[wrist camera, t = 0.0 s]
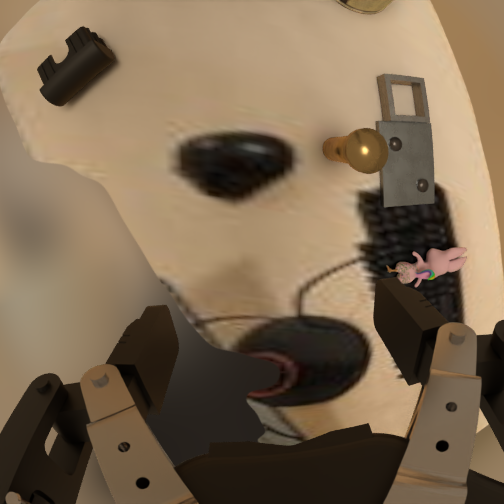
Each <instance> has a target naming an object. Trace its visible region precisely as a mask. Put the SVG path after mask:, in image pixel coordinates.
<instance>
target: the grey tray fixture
mask: <svg viewBox="0 0 504 504" xmlns="http://www.w3.org/2000/svg"><path fill="white" fill-rule="evenodd" d="M377 81H378V87H379V94H380V101H381V108H382V116H383V121H376V130H377V132H379V133H380V134H381V135H382V136H383V137H384V139H385V140H386V142H387V145H388V152H389V154H388V159H387V162H386V164H385V165H384V167H383V168H382V169H381V170H380V186H381V206H383V207H392V206H404V205H417V204H430V203H434V158H433V142H432V130H431V123H430V118H429V109H428V101H427V95H426V88H425V82H424V78H418V77H411V76H402V75H393V74H382V75H380V76H378V77H377ZM391 83H392V84H403V85H412V90H413V96H414V103H415V111H416V116H406V115H395V108H394V101H393V94H392V87H391Z"/></svg>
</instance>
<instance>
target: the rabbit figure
mask: <svg viewBox="0 0 504 504" xmlns="http://www.w3.org/2000/svg"><path fill="white" fill-rule="evenodd" d="M466 251H467V249H466V248H463V247H458V248H450V249H448V250H445V251H441V250H437V249H434V248H431V249H430V250H429V251H428V252H427V255H426V260H425V261H424V262H423V260H422V258H421V257H420V255H419V254H417V253H416V252H413V253H412V254H413V255H414V256H416V257H417V259H418V261H417V262H416V263H414V264H410V263H408V262H398V263H397V264H396V267H395V269H394V270H391V269H390V268H389V267H388V266H387V268H388V271H389V272H391V271H396V272H399V273H398V274H397V277H396V278H398V279H399V280H400V281H401V282H402V283H410V282H411V281H413V280H414V279H415V278H416V277H417V278H418V281H417V282H416V284H415V287H417V286H418V285H419V283H420V282H421V280H422V279H428V280H432V279H434V278H435V277H437V276H439V275H442V274H444V273H446V272H447V271H449V272H454V271H457V270H459V269H460V268H461V267H462V266H463V265H464V263H465V262H466V259H467V257H462V258H458V259H455V258H457V257H459V256H461V255H462V254H463V253H464V252H466ZM451 259H454V260H451ZM449 260H451V261H449Z"/></svg>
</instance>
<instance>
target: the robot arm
mask: <svg viewBox="0 0 504 504" xmlns="http://www.w3.org/2000/svg"><path fill="white" fill-rule="evenodd" d="M373 319H374V325H375V328H376V331H377V332H378V334H379V336H380V337H381V339H382V341H383V342H384V344H385V346H386V347H387V349H388V351H389V352H390V354H391V356H392V357H393V359H394V361H395V363H396V364H397V366H398V368H399V370H400V371H401V373H402V375H403V377H404V378H405V380H406V382H407V384H408V385H409V386H410V385H413V384H416V383H419V382H420V383H421V385H422V388H421V391H420V394H419V397H418V400H417V404H416V407H415V410H414V413H413V416H412V419H411V421H410V424H409V427H408V430H407V432H406V435H405V437H404V438H403V437H400V436H396V435H391V434H384V433H372V431H371V428H370V425H369V423H367V424H363V425H359V426H354V427H350V428H345V429H340V430H335V431H331V432H328V433H326V434H323V435H321V436H318V437H315V438H313V439H310V440H307V441H305V442H302V443H299V444H296V445H292V446H284V445H274V444H265V443H256V442H250V441H246V442H221V443H220V442H219V443H210V447H209V453H208V454H203V455H199V456H196V457H194V458H191V459H188V460H186V461H184V462H183V463H180V464H179V465H177V466H176V467H175V466H174V465H173V464H172V462H171V461H170V459H169V458H168V456H167V455H166V453H165V452H164V450H163V448H162V447H161V445H160V444H159V442H158V440H157V439H156V437H155V436H154V434H153V432H152V431H151V429H150V427H149V425H148V424H147V422H146V418H147V415H148V414H154V415H159V414H160V411H161V408H162V404H163V401H164V398H165V394H166V391H167V388H168V384H169V381H170V378H171V375H172V371H173V368H174V365H175V362H176V358H177V355H178V351H179V343H178V338H177V334H176V331H175V328H174V325H173V321H172V318H171V315H170V311H169V308H168V307H167V305H157V306H148V307H146V309H145V311H144V312H143V314H142V316H141V318H140V319H136V320H135V321H134V322H132V323H131V324H130V325H129V326H128V327H127V328H126V330H125V331H124V333H123V336H122V337H121V338H120V340H119V343H117V345H116V346H115V348H114V350H113V352H112V353H111V355H110V357H109V358H108V360H107V362H106V364H102V365H97V366H95V367H93V368H91V369H89V370H88V371H87V372H85V374H84V375H83V376H82V378H81V380H80V382H79V383H73V384H66V385H63V383H62V381H61V380H60V378H59V377H58V376H57V375H56V374H52V373H48V374H44V375H41V376H39V377H37V378H36V379H35V380H34V381H33V382H32V383H31V384H30V386H29V387H28V389H27V390H26V392H25V393H24V395H23V397H22V398H21V400H20V401H19V403H18V405H17V406H16V408H15V409H14V411H13V413H12V414H11V416H10V418H9V420H8V421H7V423H6V425H5V426H4V428H3V430H2V432H1V433H0V504H75V503H76V500H77V497H78V493H79V490H80V487H81V483H82V480H83V476H84V474H85V470H86V467H87V464H88V460H89V458H90V455H91V452H92V449H94V451H95V454H96V457H97V460H98V462H99V465H100V468H101V470H102V472H103V475H104V477H105V480H106V482H107V484H108V487H109V489H110V492H111V494H112V496H113V498H114V500H115V502H116V504H504V483H502V482H499V481H496V480H494V479H492V478H489V477H487V476H484V475H482V474H479V473H477V472H475V471H473V470H471V469H469V466H470V462H471V457H472V453H473V448H474V442H475V436H476V430H477V423H478V415H479V407H480V409H481V411H482V412H483V414H484V416H485V418H486V419H487V421H488V423H489V425H490V427H491V428H492V430H493V432H494V434H495V436H496V438H497V440H498V442H499V444H500V446H501V447H502V449H503V451H504V320H501V321H499V322H497V324H496V325H495V328H494V331H493V334H489V335H476V333H475V332H474V330H473V329H471V328H470V327H469V326H467V325H464V324H461V323H449V322H448V321H447V320H446V319H445V318H444V317H443V316H442V315H441V314H440V313H439V312H438V311H437V310H436V309H435V308H434V306H432V304H431V303H430V302H429V301H426V298H425V297H424V296H423V295H422V294H421V293H420V292H418V291H416V290H414V289H412V288H410V287H406V286H405V285H404V284H403V283H402V282H401V281H400V280H399V279H398V278H396V277H393V278H387V279H380V280H378V281H377V282H376V288H375V302H374V314H373ZM52 427H53V428H54V429H55V431H56V432H57V433H58V435H57V437H56V439H55V442H54V444H53V446H52V448H51V451H50V453H49V456H48V455H47V454H46V451H45V441H46V439H47V436H48V434H49V432H50V430H51V428H52Z"/></svg>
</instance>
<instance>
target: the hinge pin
mask: <svg viewBox="0 0 504 504" xmlns="http://www.w3.org/2000/svg"><path fill="white" fill-rule="evenodd" d="M323 153H324V155H325V156H326V158H328V159H329V160H331V161H336V162H342V163H347V164H349V165H350V166H351V167H352V168H353V169H354V170H356V171H358V172H362V173H366V174H371V173H376V172H378V171H379V170H381V169H382V168H383V167H384V165H385V164H386V162H387V159H388V154H389V152H388V145H387V142H386V140H385V139H384V137H383V136H382V135H381V134H380V133H379V132H377V131H376V130H373V129H370V128H363V129H357V130H355V131H353V132H351V133H350V134H349V135H348V136H343V137H333V138H329V139H327V140H326V141H325V142H324V144H323Z"/></svg>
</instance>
